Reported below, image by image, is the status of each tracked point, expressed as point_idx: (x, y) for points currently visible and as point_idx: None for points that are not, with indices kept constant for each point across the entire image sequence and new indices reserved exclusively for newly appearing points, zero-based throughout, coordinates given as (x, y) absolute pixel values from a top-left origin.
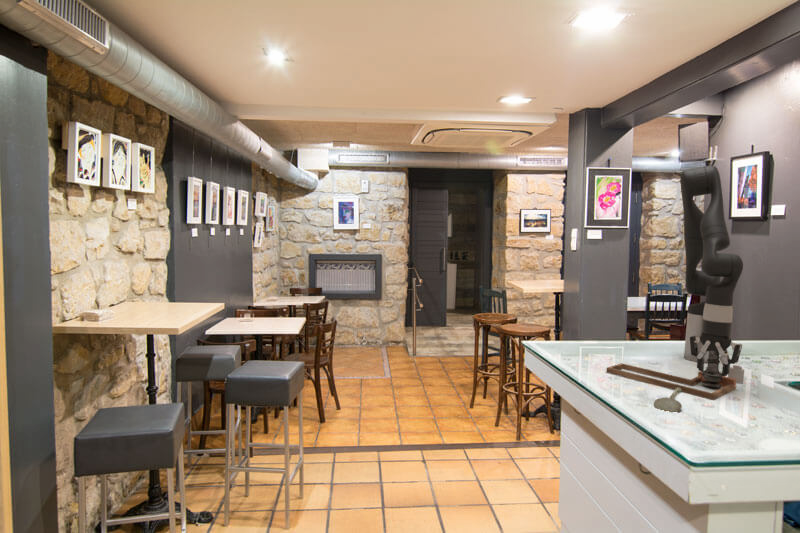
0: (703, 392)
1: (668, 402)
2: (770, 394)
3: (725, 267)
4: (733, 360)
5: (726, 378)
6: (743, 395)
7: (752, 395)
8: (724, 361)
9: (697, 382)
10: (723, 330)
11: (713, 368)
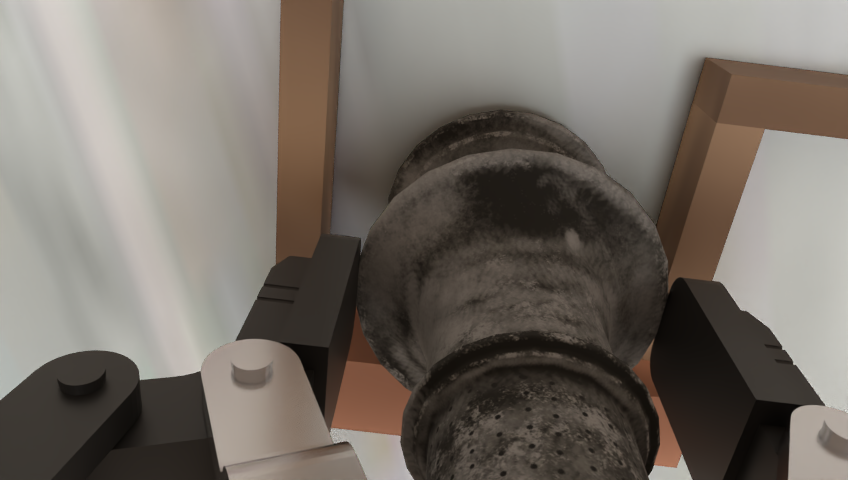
0: None
1: None
2: (5, 391)
3: None
4: (51, 401)
5: (350, 359)
6: (140, 140)
7: (84, 221)
8: (282, 383)
9: (659, 236)
10: None
11: (493, 277)
